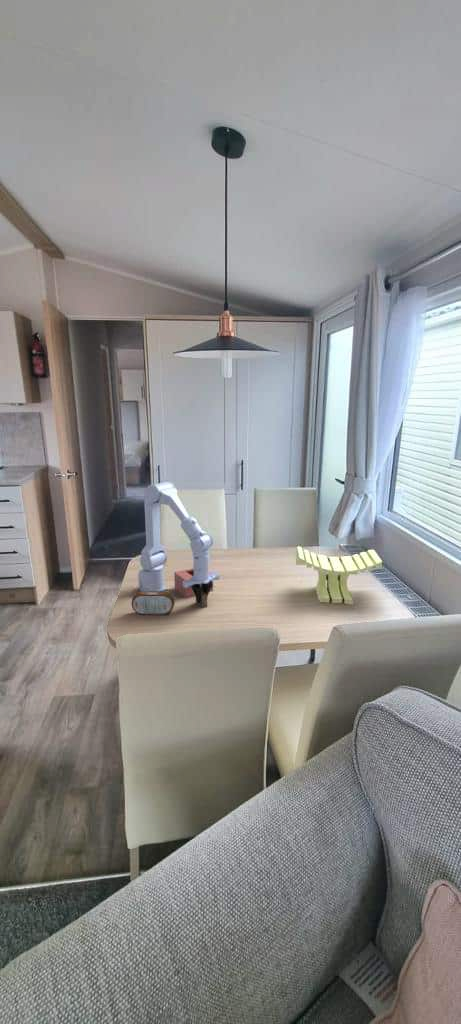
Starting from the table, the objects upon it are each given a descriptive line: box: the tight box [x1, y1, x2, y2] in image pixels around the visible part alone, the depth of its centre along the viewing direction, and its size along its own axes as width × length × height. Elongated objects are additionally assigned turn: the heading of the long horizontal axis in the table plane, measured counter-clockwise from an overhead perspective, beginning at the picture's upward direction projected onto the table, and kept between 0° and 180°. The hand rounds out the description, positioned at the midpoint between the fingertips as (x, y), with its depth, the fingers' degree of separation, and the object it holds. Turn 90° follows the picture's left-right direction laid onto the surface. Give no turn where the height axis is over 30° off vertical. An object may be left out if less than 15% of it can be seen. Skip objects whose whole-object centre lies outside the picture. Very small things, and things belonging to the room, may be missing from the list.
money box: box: [173, 567, 214, 598], centre depth 173 cm, size 12×10×7 cm
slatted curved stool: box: [295, 546, 383, 605], centre depth 170 cm, size 30×16×18 cm, turn 86°
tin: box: [131, 590, 176, 616], centre depth 153 cm, size 15×3×8 cm, turn 92°
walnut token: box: [195, 591, 208, 608], centre depth 161 cm, size 2×5×5 cm, turn 34°
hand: (201, 601), depth 161 cm, fingers closed on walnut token, 2 cm apart
